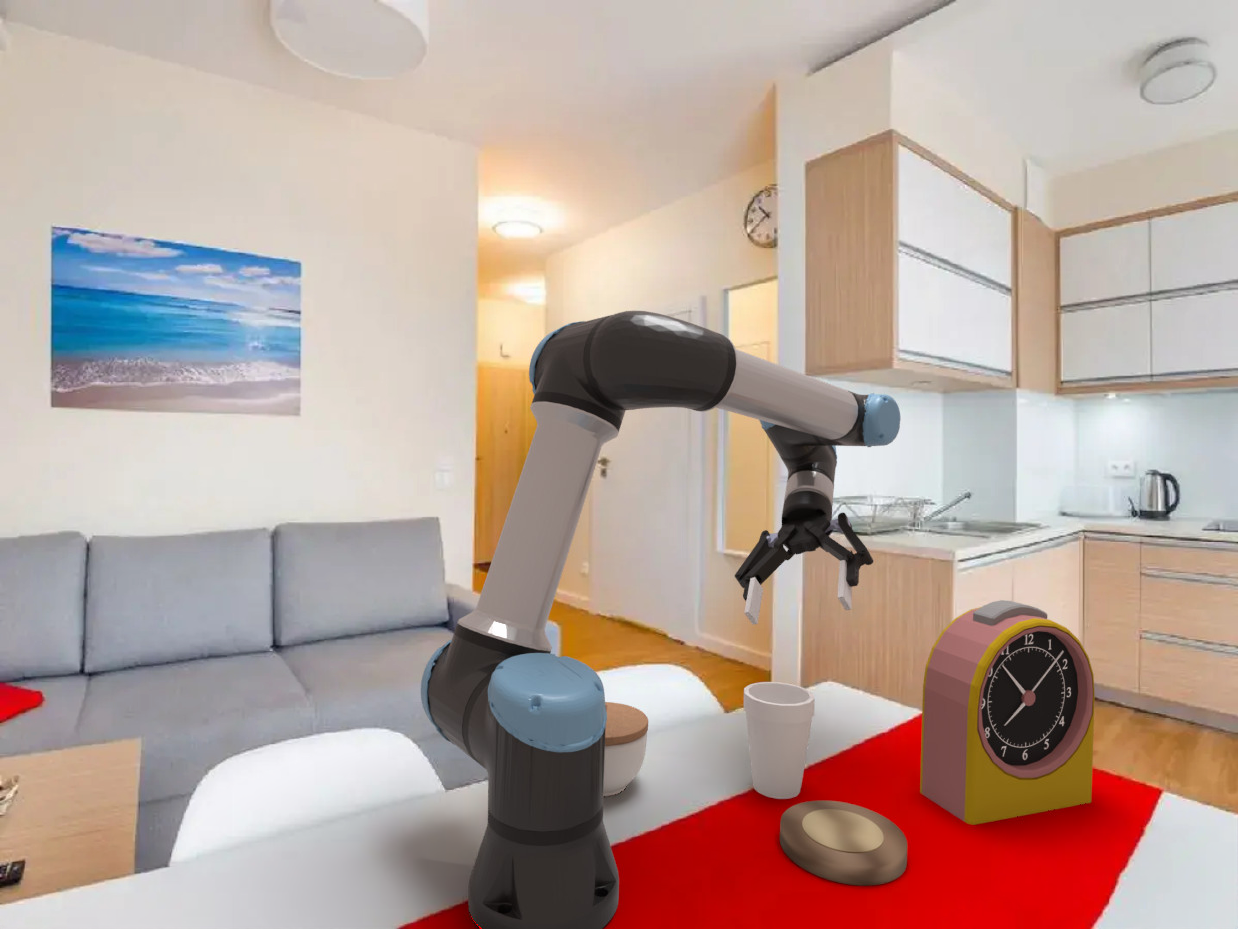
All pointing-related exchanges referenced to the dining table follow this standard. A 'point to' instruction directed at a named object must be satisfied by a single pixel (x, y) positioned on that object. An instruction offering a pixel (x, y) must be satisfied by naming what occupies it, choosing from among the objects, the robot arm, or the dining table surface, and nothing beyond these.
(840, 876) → the walnut stand
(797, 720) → the foam cup
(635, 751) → the lidded bowl
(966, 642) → the alarm clock
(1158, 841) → the dining table surface
